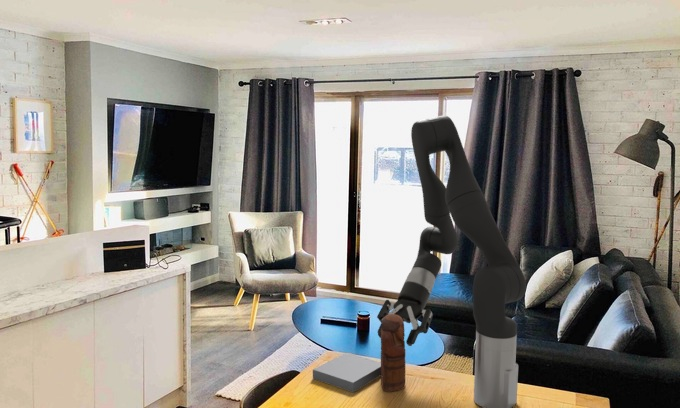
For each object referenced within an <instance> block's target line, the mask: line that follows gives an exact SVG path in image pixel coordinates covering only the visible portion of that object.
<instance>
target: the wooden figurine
mask: <svg viewBox="0 0 680 408" xmlns="http://www.w3.org/2000/svg"><path fill="white" fill-rule="evenodd" d="M404 322H405V321H404ZM404 322H403V319H402V318H401V317H400V316H399V315H395V314H389V315H386V316H385V317H384V318H383V320H382V324H381V323H380V325H381V338H380V362H381V376H380V377H381V386H382V390H383V391H385V392H387V393H391V392H396V391H397V392H398V391H399V390H400V391H401V390H402V389H404V388H405V386H406V342H405V336H406V334H405V330H406V329H405V323H404Z"/></svg>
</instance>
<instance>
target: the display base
mask: <svg viewBox="0 0 680 408" xmlns="http://www.w3.org/2000/svg"><path fill="white" fill-rule="evenodd" d="M379 377H381V361H378V360H375V359H371V358H367V357H364V356H361V355H357V354H353V353H350V352H345V353H343V354H341V355H339V356H337V357H335V358H332V359H331V360H329V361H327V362H324V363H323V364H321V365H319V366H317V367H314V368H313V369H312V379H313V380H316V381H318V382H322V383H324V384H328V385H331V386H334V387H335V388H339V389H342V390H345V391H348V392H351V393H354V392H357V391H358V390H360V389H361V388H364V387H365V386H366V385H368V384H369V383H371V382H373V381H375V380H376V379H378V378H379Z"/></svg>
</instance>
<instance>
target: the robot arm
mask: <svg viewBox="0 0 680 408" xmlns="http://www.w3.org/2000/svg"><path fill="white" fill-rule="evenodd" d="M410 131H411V134H410V136H411V143H412V148H413V155H414V159H415V163H416V168H417V172H418V173H417V174H418V177H419V181H420V186H421V191H422V198H423V199H422V201H423V211H424V212H423V214H424V219H425V221H426V223H427V224H429V225H431V226H427V227H425V228H423V230H422V232H420V236H419V246H418V252H417V257H416V258H415V261H414V263H413V266H412V268H411V270H410V272H409V273H408V275H407V276H406V279H405V281H404V283H403V285H402V288H401V290H400V292H399V294H398V296H397V297H398V298H397V300H396V302H392V301H390V300H389V299H386V300H385V301H384V302H383V304H382V306H381V308H380V311H379V312H378V314H377V316H376V318H377V319H378V321H379V322H380V325H379V327H378V329H377V336H378V337H379V338H380V339H381V324H382V320H383V318H384V317H385V316H386V315H389V314H395V315H399V316H400V317H401V318H402V319H403V322H405V323H407V324H410V323H411V326H412V329H410V332H409V334H408V336H407V339H406V342H405V344H407V346H409V347H412V345H414V344H415V343H416V341H417V338H418V336H419V335H420V334H421V333H423V334H427V333H428V331H429V328H430V325H431V322H432V320H433V316H434V314H433V312H432V311H431V308H426V309H425V307H426V306H427V303H428V300H429V298H430V296H431V293H432V292H433V289H434V286H435V282H436V279H437V277H438V274H439V273H440V269H441V267H442V261H441V259H440V258H439V257H438V256H437V255H436V254H434V253H439V254H443V255H451V254H453V253H454V252H455V251H456V249H457V248H458V243H459V241H458V234H457V230H456V228H455V226H456V227H457V228H458V229H459V231H461V233H462V234H463V235H464V236H466V238H467V239H469V240H470V241H471V242H472V243H473V244H474V245H475V246H476V247H477V248H478V250H479V251H480V252H481V254H482V255H483V257H484V259H485V261H486V263H487V265H488V266H483V267H480V268H479V269H478V270H477V271H476V272H475V275H474V278H473V281H472V282H473V283H472V301H473V302H472V309H473V311H472V312H473V319H474V321H475V327H476V329H475V350H474V351H475V353H474V354H475V356H474V357H475V358H474V380H473V381H474V382H473V384H474V385H473V401H474V403H475V404H477V405H478V406H480V407H481V408H513V407H514V406H515V405H516V404H518V403H517V402H518V382H519V381H518V379H519V364H518V363H517V362H516V358H517V357H516V356H517V338H518V337H517V336H518V324H517V322H516V321H515V320H514V319H513V318H511V317H508V316H506V304H511V303H515V302H518V301H520V300H522V298H524V296H525V294H526V291H527V281H526V278H525V275H524V273H523V271H522V268H521V267H520V265H519V263H518V262H517V260H516V258H515V257H514V254H513V252H512V251H511V250H510V248H509V247H508V245H507V242H506V241H505V239H504V236H503V235H502V233H501V231H500V229H499V227H498V225H497V222H496V221H495V219H494V215H493V214H492V212H491V210H490V207H489V204H488V202H487V200H486V198H485V195H484V193H483V191H482V189H481V187H480V185H479V182H478V181H477V178H476V177H475V175H474V172H473V170H472V167H471V165H470V162H469V160H468V158H467V155H466V153H465V152H466V151H465V149H464V146H463V143H462V141H461V138H460V135H459V133H458V132H459V131H458V129H457V127H456V125H455V123H454V121H453V120H452V118H451V117H450V116H448V115H438V116H433V117H429V118H423V119H421V120H417V121H415V122H414V123H413V124H412V126H411V129H410ZM441 152H445V154H446V155H447V158H448V161H449V173H448V178H447V182H446V185H445V184H444V183H443V181H442V180H441V179H440V177H439V176H438V175H437V174H436V172H435V171H434V170H433V167H432V166H431V160H430V155H433V154H437V153H441ZM454 224H455V226H454ZM432 252H434V253H432ZM420 317H422V320H421V322H420V323H419V321H418V320H419V318H420Z"/></svg>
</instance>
